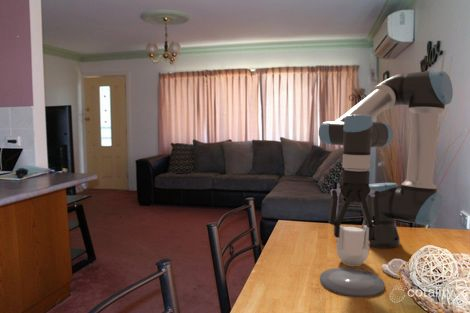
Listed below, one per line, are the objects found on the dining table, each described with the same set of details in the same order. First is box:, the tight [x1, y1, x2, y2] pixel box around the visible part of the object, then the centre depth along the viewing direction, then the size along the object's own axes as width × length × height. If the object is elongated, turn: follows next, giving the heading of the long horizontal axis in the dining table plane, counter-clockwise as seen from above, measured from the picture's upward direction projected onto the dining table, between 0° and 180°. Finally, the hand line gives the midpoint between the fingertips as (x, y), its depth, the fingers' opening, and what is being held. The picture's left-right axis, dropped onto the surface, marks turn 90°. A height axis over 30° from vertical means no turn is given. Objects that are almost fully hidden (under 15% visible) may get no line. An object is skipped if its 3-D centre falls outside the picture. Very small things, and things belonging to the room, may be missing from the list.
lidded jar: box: [335, 238, 371, 267], centre depth 131 cm, size 11×11×9 cm
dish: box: [319, 267, 385, 298], centre depth 115 cm, size 18×18×1 cm
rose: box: [381, 258, 407, 279], centre depth 123 cm, size 10×4×10 cm
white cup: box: [341, 225, 366, 256], centre depth 114 cm, size 7×7×7 cm
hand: (352, 248), depth 114 cm, fingers closed on white cup, 7 cm apart
